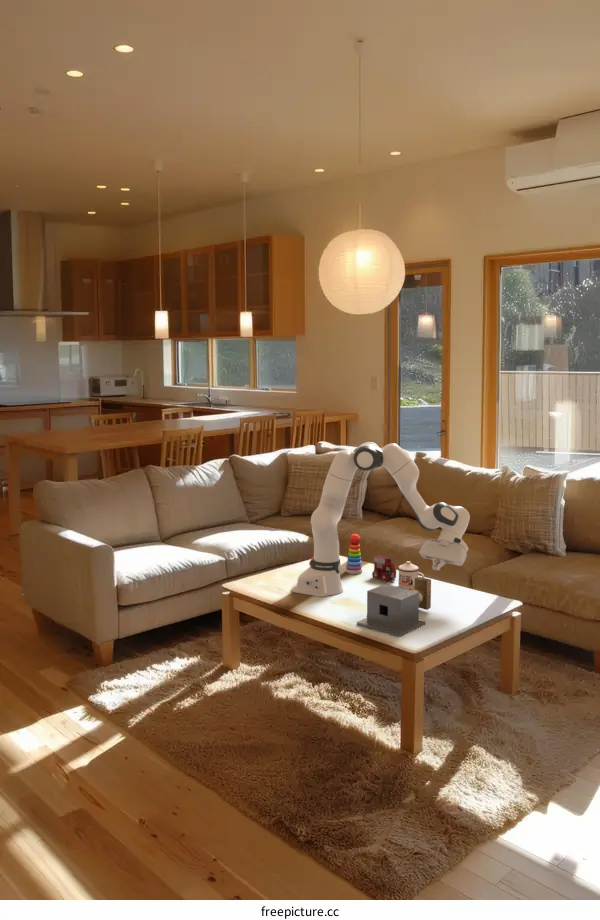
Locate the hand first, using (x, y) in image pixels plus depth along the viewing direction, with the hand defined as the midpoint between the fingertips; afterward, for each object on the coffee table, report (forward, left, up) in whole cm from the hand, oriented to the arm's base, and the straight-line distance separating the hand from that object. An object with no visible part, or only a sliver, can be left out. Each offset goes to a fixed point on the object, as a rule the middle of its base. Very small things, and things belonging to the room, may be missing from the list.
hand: (435, 569), depth 337 cm
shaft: (-8, -16, -14) cm, 23 cm away
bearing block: (-12, -27, -16) cm, 33 cm away
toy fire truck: (-27, +30, -16) cm, 44 cm away
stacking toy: (-43, +36, -16) cm, 59 cm away
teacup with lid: (-13, +21, -16) cm, 30 cm away
